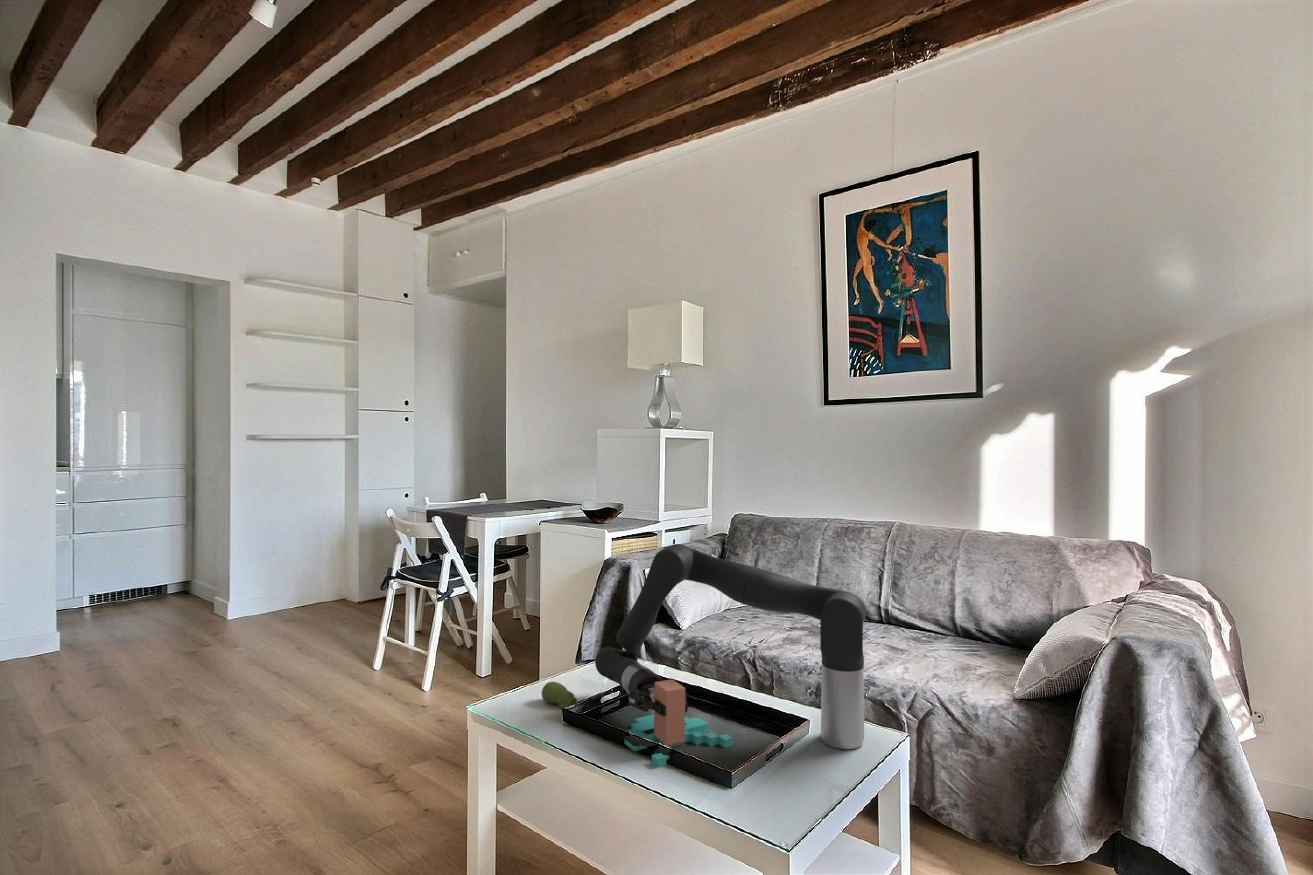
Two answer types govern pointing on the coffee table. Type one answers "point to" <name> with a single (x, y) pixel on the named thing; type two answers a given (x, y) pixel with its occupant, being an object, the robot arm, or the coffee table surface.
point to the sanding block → (670, 713)
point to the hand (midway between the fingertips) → (675, 709)
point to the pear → (558, 695)
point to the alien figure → (692, 733)
